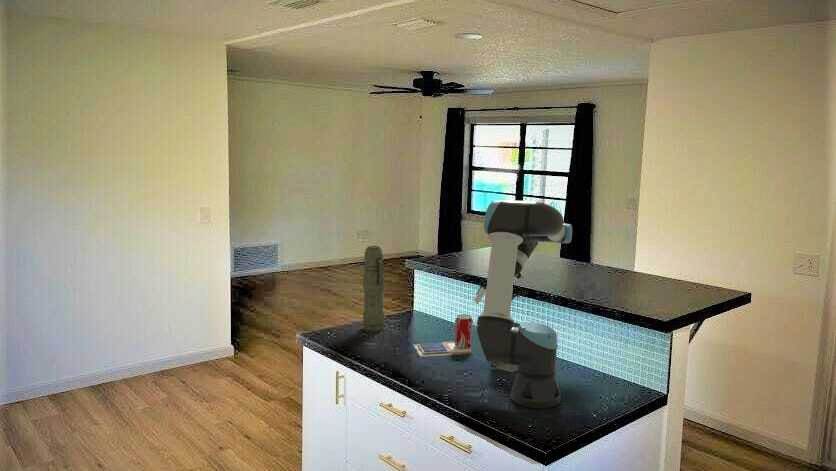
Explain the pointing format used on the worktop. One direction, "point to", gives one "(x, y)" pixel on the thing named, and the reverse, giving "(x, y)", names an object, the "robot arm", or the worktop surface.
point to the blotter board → (432, 354)
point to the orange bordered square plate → (456, 348)
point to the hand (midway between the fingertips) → (488, 305)
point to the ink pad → (433, 348)
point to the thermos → (373, 290)
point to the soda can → (463, 331)
